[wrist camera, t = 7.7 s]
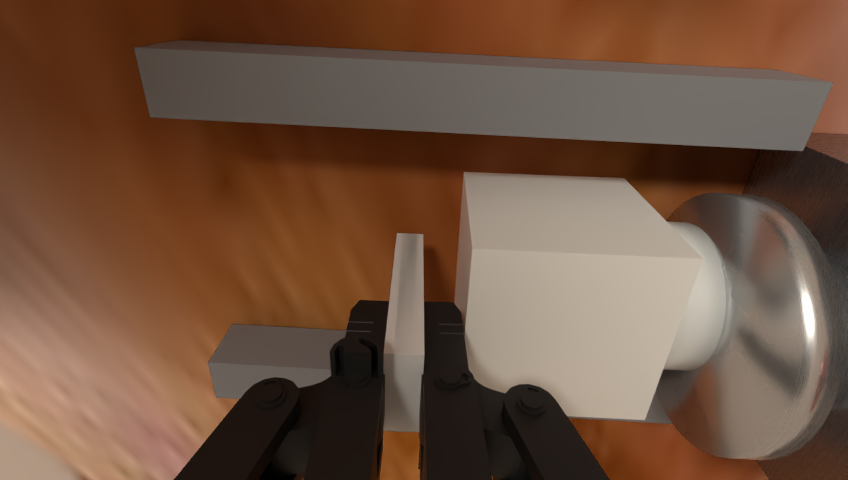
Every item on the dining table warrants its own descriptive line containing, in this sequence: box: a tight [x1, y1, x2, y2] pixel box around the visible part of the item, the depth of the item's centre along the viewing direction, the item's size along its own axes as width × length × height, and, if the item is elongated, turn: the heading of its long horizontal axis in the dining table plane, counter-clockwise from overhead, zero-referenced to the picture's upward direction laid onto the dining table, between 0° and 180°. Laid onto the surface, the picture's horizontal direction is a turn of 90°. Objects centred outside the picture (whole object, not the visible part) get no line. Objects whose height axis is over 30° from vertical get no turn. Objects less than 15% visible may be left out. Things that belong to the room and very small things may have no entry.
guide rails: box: [134, 40, 833, 424], centre depth 18 cm, size 14×20×2 cm
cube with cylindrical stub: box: [454, 172, 726, 420], centre depth 16 cm, size 6×8×6 cm
